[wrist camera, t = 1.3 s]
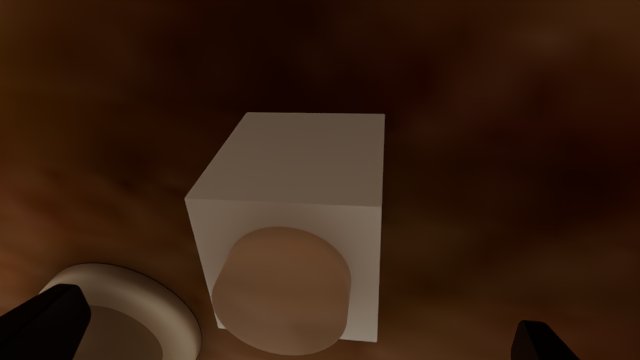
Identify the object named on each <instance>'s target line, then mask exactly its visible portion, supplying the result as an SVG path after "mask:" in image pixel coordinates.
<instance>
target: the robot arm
mask: <svg viewBox="0 0 640 360" xmlns="http://www.w3.org/2000/svg"><path fill="white" fill-rule="evenodd" d="M90 320H91V309H90V306H89V304H88V302H87V300H86V298H85V296H84V294H83V292H82V290H81V288H80V287H79V286H78V285H75V284H64V283H60V284H56V285H54V286H52V287H51V288H49V289H47V290H45V291H44V292H42V293H40V294H38V295H37V296H35V297H33V298H32V299H30V300H28V301H26V302H25V303H23V304H21V305H19V306H18V307H16V308H14V309H13V310H11V311H9V312H7V313H6V314H4V315H2V316H0V360H73V358H74V356H75V354H76V351H77V349H78V347H79V345H80V342H81V340H82V338H83V336H84V334H85V331H86V329H87V327H88V325H89V323H90ZM511 360H580V359H579V358H578V357H577V356H576V355H575V354H574V353H573V352H572V351H571V350H570V349H569V348H568V346H567V345H566V344H565V343H564V342H563V341H562V340H561V339H560V338H559V337H558V336H557V335H556V333H555V332H554V331H553V330H552V329H551V328H550V327H549V326H548V325H547V324H545V323H544V322H540V321H528V320H523V321H521V322H520V323H519V324H518V327H517V331H516V334H515V337H514V341H513V344H512V348H511Z"/></svg>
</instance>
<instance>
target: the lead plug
mask: <svg viewBox="0 0 640 360" xmlns="http://www.w3.org/2000/svg"><path fill="white" fill-rule="evenodd" d="M384 126H385V114H344V113H260V112H247V113H246V114H245V115H244V117H243V118H242V120H241V121H240V122H239V124H238V125H237V126H236V128H235V129H234V131H233V132H232V133H231V135H230V136H229V138H228V139H227V140H226V142H225V143H224V144H223V146H222V147H221V149H220V150H219V151H218V153H217V154H216V155H215V157H214V158H213V160H212V161H211V162H210V164H209V165H208V166H207V168H206V169H205V171H204V172H203V173H202V175H201V176H200V178H199V179H198V180H197V182H196V183H195V184H194V186H193V187H192V189H191V190H190V191H189V193H188V194H187V195H186V197H185V198H184V199H185V203H186V207H187V210H188V214H189V218H190V222H191V226H192V229H193V233H194V237H195V241H196V245H197V248H198V252H199V256H200V260H201V264H202V267H203V271H204V275H205V279H206V283H207V286H208V290H209V294H210V298H211V302H212V305H213V309H214V313H215V317H216V321H217V324H218V328H224V329H227V330H228V331H229V332H230V333H232V334H233V335H234V336H235V337H237V338H238V339H240V340H241V341H243V342H245V343H246V344H249V345H251V346H253V347H255V348H258V349H260V350H263V351H266V352H270V353H275V354H281V355H307V354H312V353H316V352H319V351H322V350H324V349H326V348H328V347H330V346H331V345H333V344H334V343H335V342H336V341H337V340H339V339H346V340H357V341H368V342H377V325H378V297H379V270H380V242H381V214H382V185H383V155H384Z"/></svg>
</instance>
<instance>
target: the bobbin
mask: <svg viewBox="0 0 640 360" xmlns="http://www.w3.org/2000/svg"><path fill="white" fill-rule="evenodd" d="M60 283H64V284H75V285H78V286H79V287H80V288H81V290H82V292H83V294H84V296H85V298H86V300H87V302H88V304H89V306H90V309H91V320H90V323H89V325H88V327H87V329H86V331H85V334H84V336H83V338H82V340H81V342H80V345H79V347H78V349H77V351H76V354H75V356H74V358H73V360H196V358H197V355H198V353H199V351H200V349H201V344H202V335H201V330H200V327H199V325H198V322H197V320H196V319H195V317H194V315H193V314H192V312H191V311H190V310H189V308H188V307H187V306H186V305H185V304H184V303H183V302H182V301H181V300H180V299H179V298H178V297H177V296H176V295H175V294H174V293H172V292H171V291H170V290H168V289H167V288H165V287H164V286H163V285H161V284H159V283H158V282H156V281H154V280H152V279H150V278H148V277H146V276H144V275H142V274H140V273H137V272H135V271H132V270H129V269H126V268H122V267H118V266H114V265H108V264H100V263H87V264H78V265H74V266H71V267H68V268H66V269H63V270H62V271H60V272H59V273H58V274H57V275H56V276H55V277H54V278H53V279H52V280H51V281H50V282H49V283H48V284H47V285H46V286H45V287H44V288H43V289H42V291H41V292H40V293H42V292H44V291H45V290H47V289H49V288H51V287H52V286H54V285H56V284H60ZM40 293H39V294H40Z"/></svg>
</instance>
